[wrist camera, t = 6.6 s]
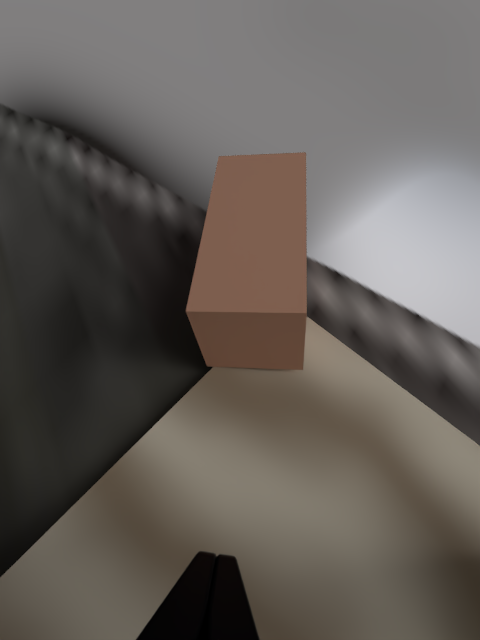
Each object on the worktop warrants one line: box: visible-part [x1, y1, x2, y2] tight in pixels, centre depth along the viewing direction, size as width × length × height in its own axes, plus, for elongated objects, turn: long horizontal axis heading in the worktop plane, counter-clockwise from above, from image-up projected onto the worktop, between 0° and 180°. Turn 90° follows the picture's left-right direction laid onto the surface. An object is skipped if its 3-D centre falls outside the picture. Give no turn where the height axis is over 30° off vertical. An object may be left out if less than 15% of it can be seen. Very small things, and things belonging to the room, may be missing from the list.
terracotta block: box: [186, 152, 307, 370], centre depth 18 cm, size 4×4×10 cm
